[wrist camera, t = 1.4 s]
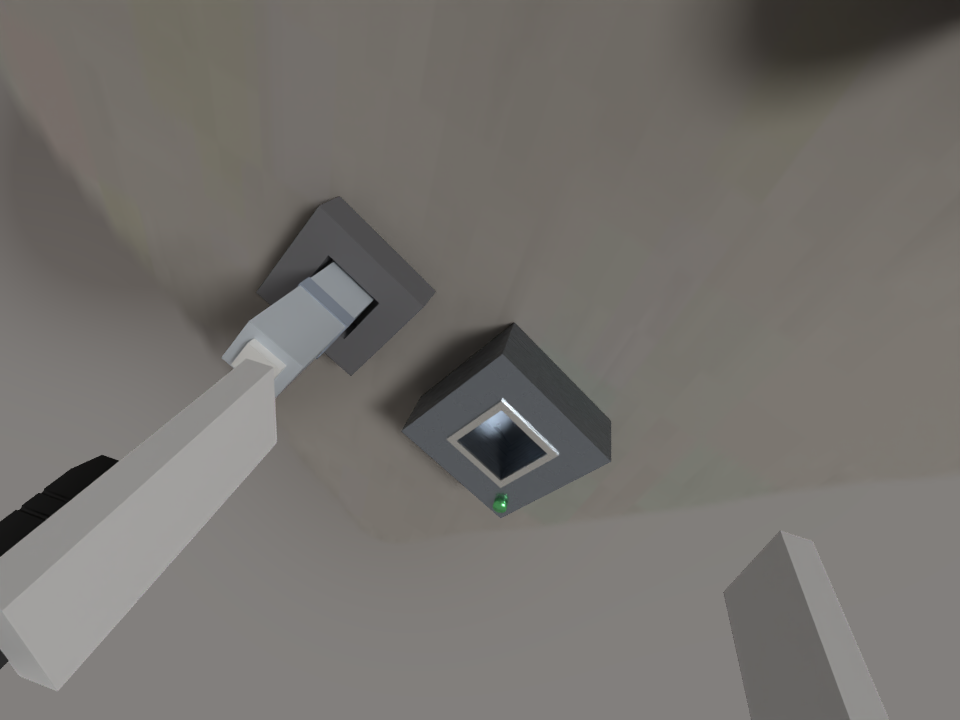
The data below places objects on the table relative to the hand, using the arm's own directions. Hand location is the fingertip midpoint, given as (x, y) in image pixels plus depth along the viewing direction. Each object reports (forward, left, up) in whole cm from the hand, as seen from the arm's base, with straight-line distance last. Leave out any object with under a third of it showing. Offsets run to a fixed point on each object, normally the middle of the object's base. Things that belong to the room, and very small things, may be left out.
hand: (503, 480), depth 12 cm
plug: (-8, -16, -24) cm, 30 cm away
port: (+9, -14, -25) cm, 30 cm away
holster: (-8, -16, -25) cm, 30 cm away
